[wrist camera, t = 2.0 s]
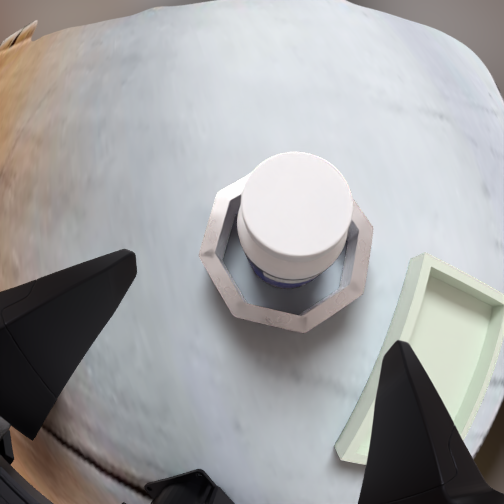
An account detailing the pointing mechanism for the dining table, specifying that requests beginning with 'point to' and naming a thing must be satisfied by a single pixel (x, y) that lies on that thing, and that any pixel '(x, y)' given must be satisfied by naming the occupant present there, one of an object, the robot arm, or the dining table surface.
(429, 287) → the sage tray
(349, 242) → the steel collar
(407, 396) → the robot arm
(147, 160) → the dining table surface
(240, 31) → the dining table surface
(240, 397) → the dining table surface
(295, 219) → the pill bottle
